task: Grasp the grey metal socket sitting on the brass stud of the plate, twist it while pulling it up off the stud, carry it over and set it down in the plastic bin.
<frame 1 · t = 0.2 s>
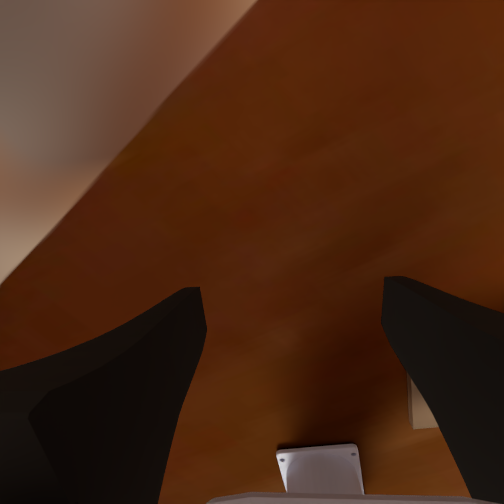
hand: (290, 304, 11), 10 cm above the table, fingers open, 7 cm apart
stud plate: (456, 382, 24), on the table
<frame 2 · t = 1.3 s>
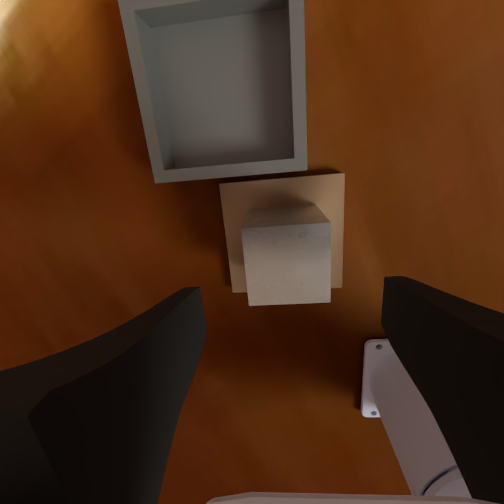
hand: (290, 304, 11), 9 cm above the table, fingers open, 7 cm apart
bin: (226, 98, 17), on the table
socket: (283, 238, 19), point 1 cm above the table, touching stud plate
stud plate: (283, 235, 20), on the table
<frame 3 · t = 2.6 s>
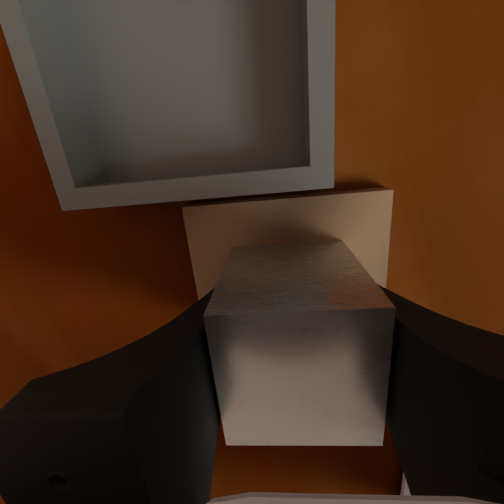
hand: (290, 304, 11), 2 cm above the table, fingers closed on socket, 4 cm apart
bin: (190, 61, 10), on the table
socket: (288, 292, 12), point 1 cm above the table, touching gripper, stud plate
stud plate: (287, 284, 12), on the table
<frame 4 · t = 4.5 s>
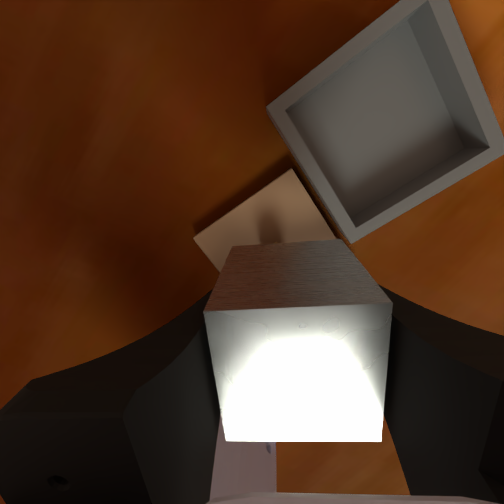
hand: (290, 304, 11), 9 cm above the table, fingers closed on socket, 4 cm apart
bin: (370, 132, 17), on the table
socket: (288, 291, 12), point 8 cm above the table, touching gripper
stud plate: (273, 249, 20), on the table
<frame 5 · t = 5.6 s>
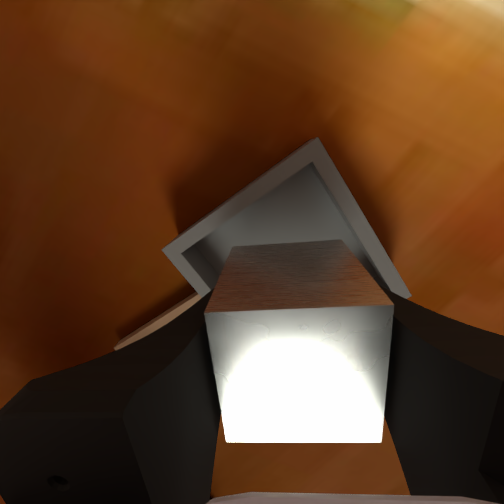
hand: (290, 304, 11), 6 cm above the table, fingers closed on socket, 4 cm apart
bin: (284, 254, 16), on the table
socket: (288, 291, 12), point 5 cm above the table, touching gripper
stud plate: (199, 355, 19), on the table
when the fingers open (4 cm above the table, at t = 6.3 s): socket drops 2 cm, resting on bin.
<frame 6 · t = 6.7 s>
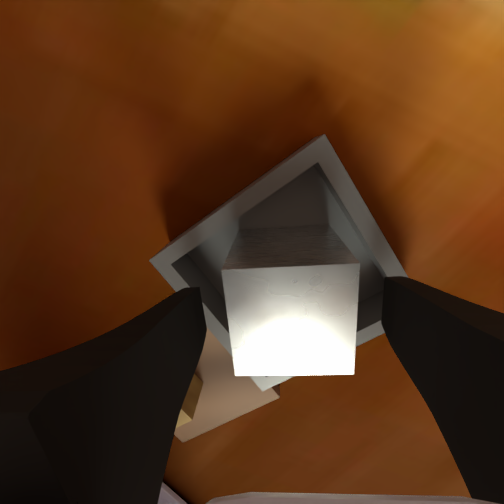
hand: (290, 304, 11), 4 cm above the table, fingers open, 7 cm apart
bin: (285, 263, 15), on the table
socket: (285, 267, 14), point 1 cm above the table, touching bin
stud plate: (193, 370, 18), on the table
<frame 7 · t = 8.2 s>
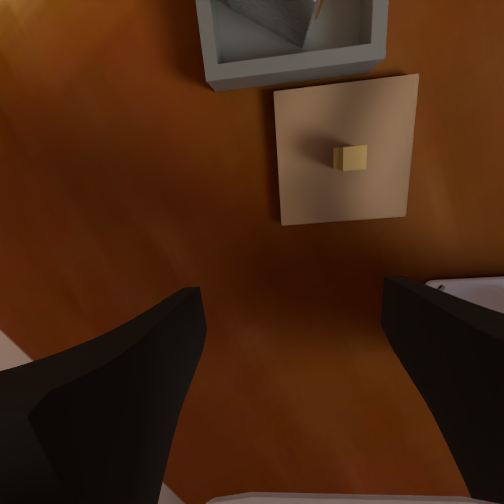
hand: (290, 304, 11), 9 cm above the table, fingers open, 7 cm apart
stud plate: (340, 157, 18), on the table
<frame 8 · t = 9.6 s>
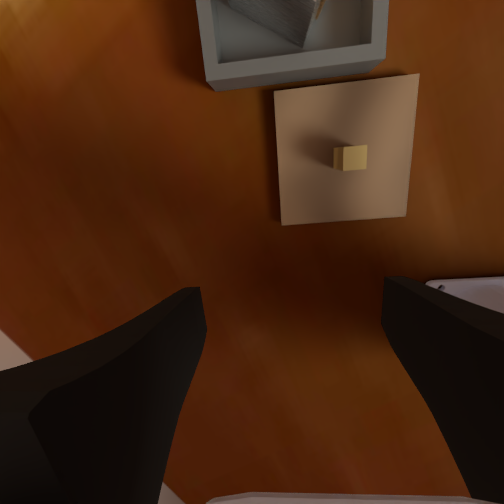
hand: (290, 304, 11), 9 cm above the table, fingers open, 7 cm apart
stud plate: (340, 157, 18), on the table
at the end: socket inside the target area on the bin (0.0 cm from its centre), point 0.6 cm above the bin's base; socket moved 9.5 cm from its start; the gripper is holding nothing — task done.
